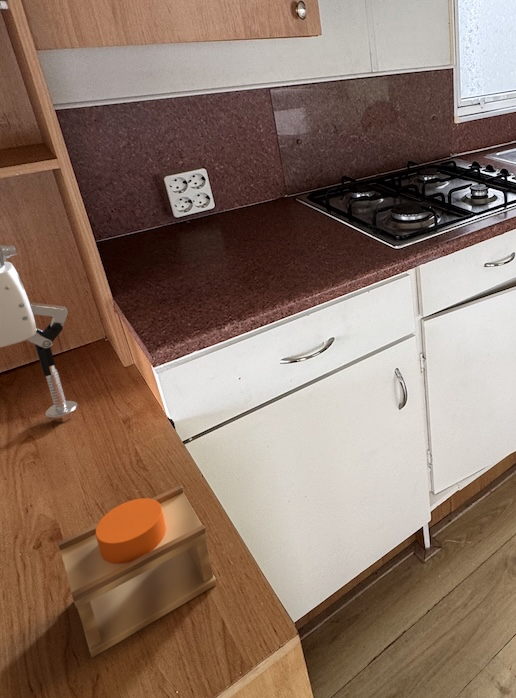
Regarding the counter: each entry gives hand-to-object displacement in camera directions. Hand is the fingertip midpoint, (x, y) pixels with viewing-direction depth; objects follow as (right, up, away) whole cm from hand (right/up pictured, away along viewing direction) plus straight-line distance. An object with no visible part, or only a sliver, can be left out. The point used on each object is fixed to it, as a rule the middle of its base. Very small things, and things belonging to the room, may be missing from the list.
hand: (0, 385), depth 75 cm
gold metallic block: (+19, -27, 0) cm, 33 cm away
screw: (-17, -15, +33) cm, 40 cm away
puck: (+19, -19, -3) cm, 27 cm away
